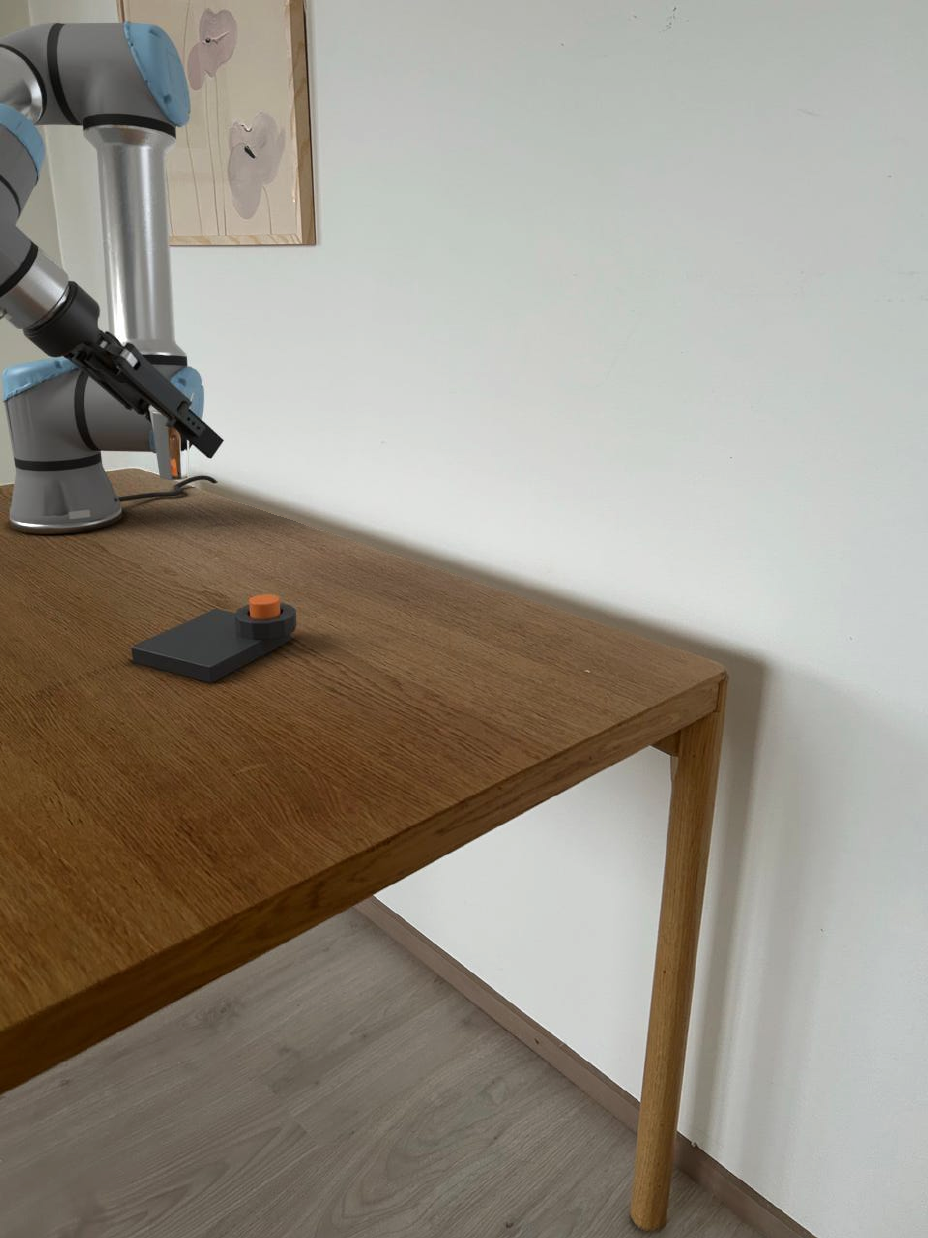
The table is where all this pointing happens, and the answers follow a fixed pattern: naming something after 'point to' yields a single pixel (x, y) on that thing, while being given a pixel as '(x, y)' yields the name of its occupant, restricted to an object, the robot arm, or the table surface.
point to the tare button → (264, 606)
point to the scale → (215, 643)
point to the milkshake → (169, 447)
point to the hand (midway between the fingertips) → (203, 445)
